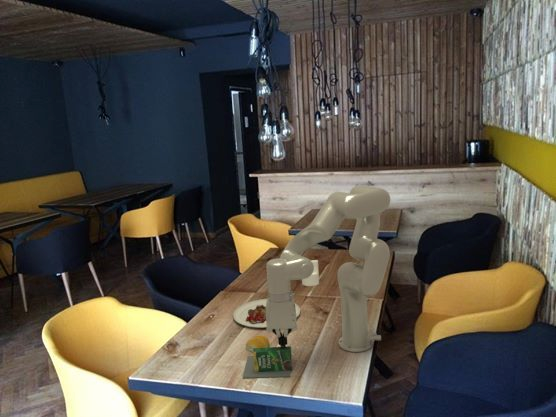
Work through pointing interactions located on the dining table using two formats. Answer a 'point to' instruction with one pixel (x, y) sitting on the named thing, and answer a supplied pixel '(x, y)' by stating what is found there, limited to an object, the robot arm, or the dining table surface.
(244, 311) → the plated food
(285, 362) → the coffee box
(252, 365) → the mat
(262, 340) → the bread roll
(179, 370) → the dining table surface
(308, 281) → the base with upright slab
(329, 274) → the dining table surface
